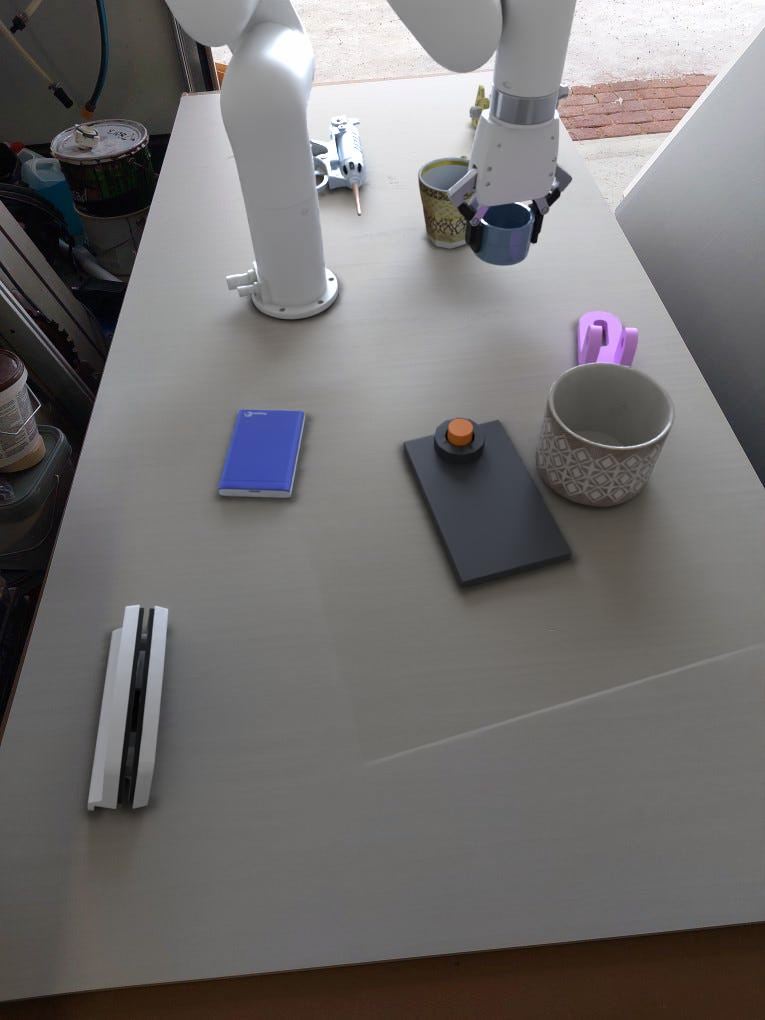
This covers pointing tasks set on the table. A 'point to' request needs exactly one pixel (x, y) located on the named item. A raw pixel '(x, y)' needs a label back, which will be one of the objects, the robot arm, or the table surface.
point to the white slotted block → (130, 710)
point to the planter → (603, 433)
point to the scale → (485, 504)
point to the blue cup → (506, 234)
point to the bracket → (617, 340)
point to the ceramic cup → (443, 200)
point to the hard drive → (263, 454)
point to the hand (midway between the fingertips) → (501, 242)
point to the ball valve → (479, 106)
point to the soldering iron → (340, 158)
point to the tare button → (460, 432)
